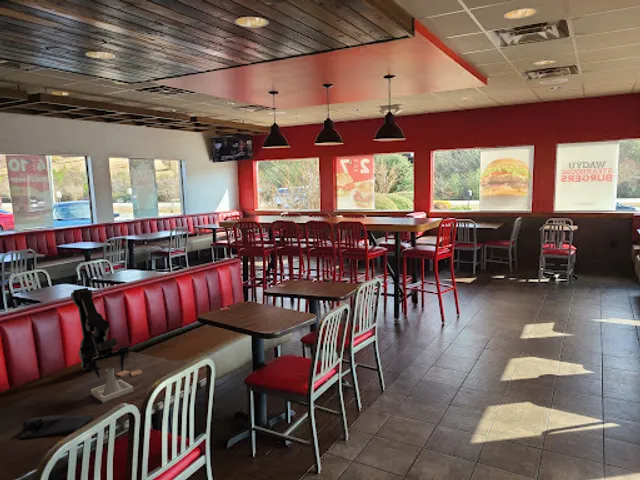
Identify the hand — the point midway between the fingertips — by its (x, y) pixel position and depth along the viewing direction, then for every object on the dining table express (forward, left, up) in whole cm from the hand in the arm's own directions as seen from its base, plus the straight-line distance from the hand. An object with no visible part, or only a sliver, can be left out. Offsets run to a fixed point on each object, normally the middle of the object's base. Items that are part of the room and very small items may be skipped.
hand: (111, 374), depth 198 cm
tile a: (-18, +12, -9) cm, 24 cm away
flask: (-1, 0, -8) cm, 8 cm away
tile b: (-13, +16, -9) cm, 23 cm away
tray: (-1, 0, -9) cm, 9 cm away
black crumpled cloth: (+11, -25, -9) cm, 29 cm away
